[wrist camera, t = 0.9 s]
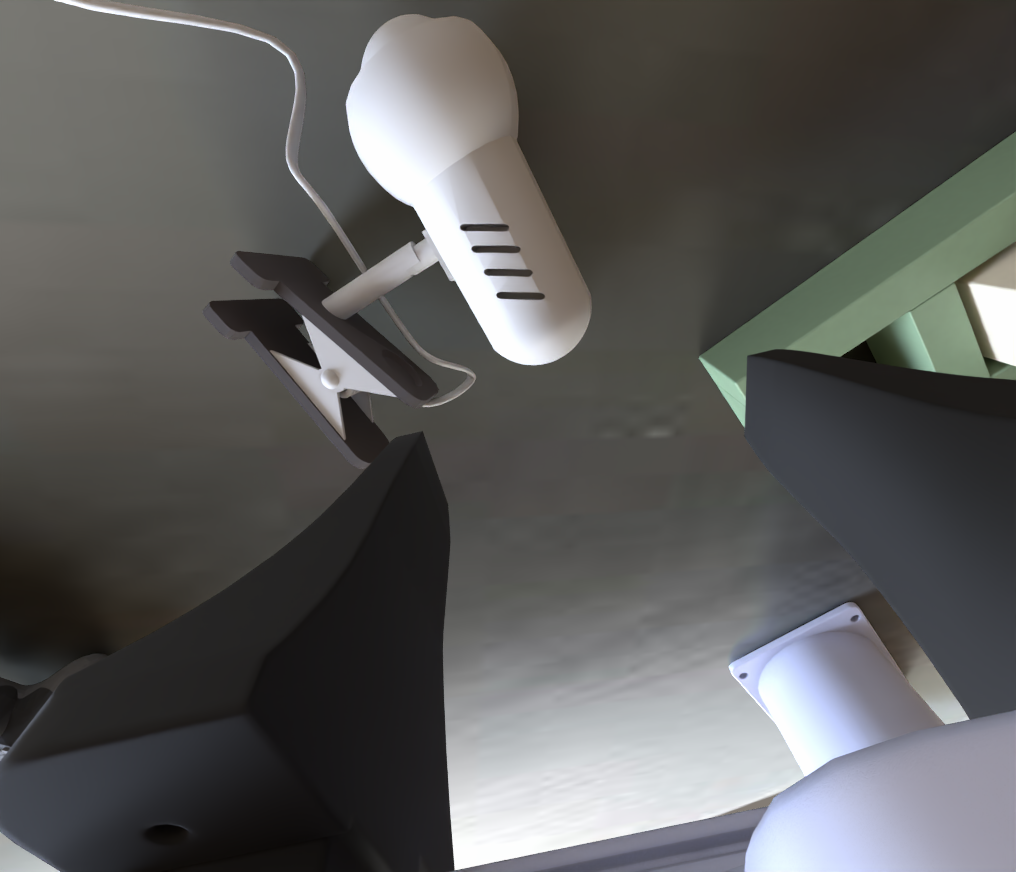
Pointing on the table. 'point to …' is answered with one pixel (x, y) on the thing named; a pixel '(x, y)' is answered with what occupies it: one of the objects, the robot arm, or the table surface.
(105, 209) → the table surface
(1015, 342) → the cream rectangular block
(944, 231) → the holder
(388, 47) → the clip-on lamp
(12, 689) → the gaming controller
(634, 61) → the table surface
